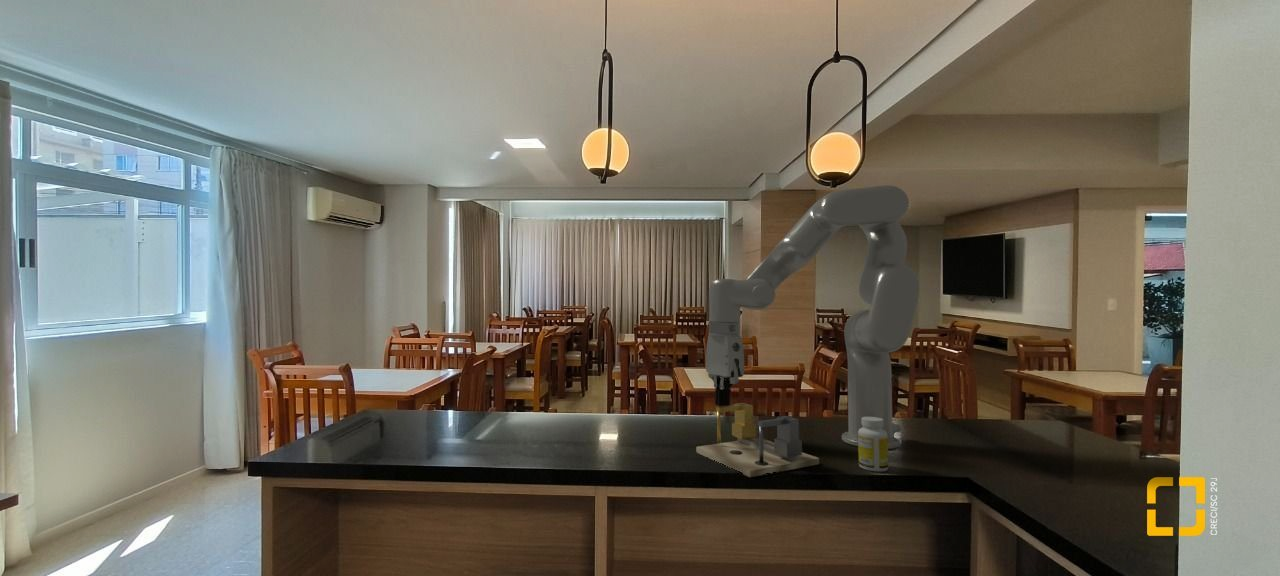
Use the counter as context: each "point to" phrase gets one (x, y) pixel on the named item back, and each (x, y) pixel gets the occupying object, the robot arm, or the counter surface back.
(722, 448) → the board
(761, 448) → the fixed leg
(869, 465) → the supplement bottle
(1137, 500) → the counter surface
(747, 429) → the slider leg
